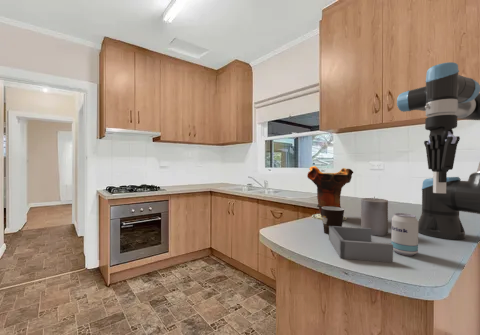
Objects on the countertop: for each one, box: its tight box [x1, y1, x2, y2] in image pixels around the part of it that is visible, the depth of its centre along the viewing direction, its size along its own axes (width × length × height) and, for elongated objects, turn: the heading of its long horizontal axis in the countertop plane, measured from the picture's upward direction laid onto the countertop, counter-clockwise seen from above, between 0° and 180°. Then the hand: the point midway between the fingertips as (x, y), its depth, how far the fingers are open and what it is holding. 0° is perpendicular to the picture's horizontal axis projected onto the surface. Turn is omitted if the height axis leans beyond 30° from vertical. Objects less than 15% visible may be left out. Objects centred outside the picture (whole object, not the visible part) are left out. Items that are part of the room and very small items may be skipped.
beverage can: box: [390, 212, 419, 257], centre depth 75 cm, size 7×7×12 cm
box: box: [328, 226, 394, 263], centre depth 77 cm, size 14×18×5 cm
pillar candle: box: [360, 196, 389, 237], centre depth 98 cm, size 10×10×15 cm
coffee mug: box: [321, 207, 345, 235], centre depth 98 cm, size 12×9×10 cm
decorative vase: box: [307, 165, 354, 221], centre depth 126 cm, size 21×23×28 cm
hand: (439, 192), depth 73 cm, fingers closed
